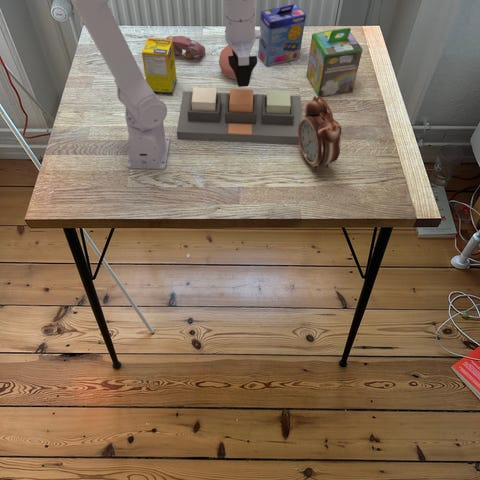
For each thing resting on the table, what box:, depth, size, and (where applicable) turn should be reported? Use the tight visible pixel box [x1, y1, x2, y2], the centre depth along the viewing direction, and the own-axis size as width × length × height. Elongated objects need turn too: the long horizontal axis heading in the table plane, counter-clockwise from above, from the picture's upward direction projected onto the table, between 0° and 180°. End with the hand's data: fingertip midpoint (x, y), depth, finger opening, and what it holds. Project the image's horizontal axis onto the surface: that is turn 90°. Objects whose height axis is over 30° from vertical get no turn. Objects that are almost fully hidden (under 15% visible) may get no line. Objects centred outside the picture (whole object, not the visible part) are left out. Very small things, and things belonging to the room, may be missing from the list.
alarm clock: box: [298, 95, 342, 173], centre depth 101 cm, size 11×5×15 cm, turn 21°
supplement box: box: [141, 37, 178, 96], centre depth 116 cm, size 6×6×11 cm
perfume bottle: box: [218, 43, 251, 79], centre depth 120 cm, size 8×8×12 cm
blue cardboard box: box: [257, 3, 307, 67], centre depth 124 cm, size 10×6×14 cm, turn 115°
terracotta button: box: [229, 88, 254, 113], centre depth 110 cm, size 5×5×3 cm
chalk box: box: [306, 27, 364, 97], centre depth 117 cm, size 9×9×15 cm
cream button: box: [192, 86, 218, 111], centre depth 110 cm, size 5×5×3 cm
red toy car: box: [165, 35, 206, 59], centre depth 127 cm, size 10×5×7 cm, turn 73°
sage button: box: [266, 89, 291, 114], centre depth 110 cm, size 5×5×3 cm
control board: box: [176, 90, 303, 145], centre depth 112 cm, size 14×27×4 cm, turn 88°
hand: (241, 73), depth 107 cm, fingers open, 7 cm apart
